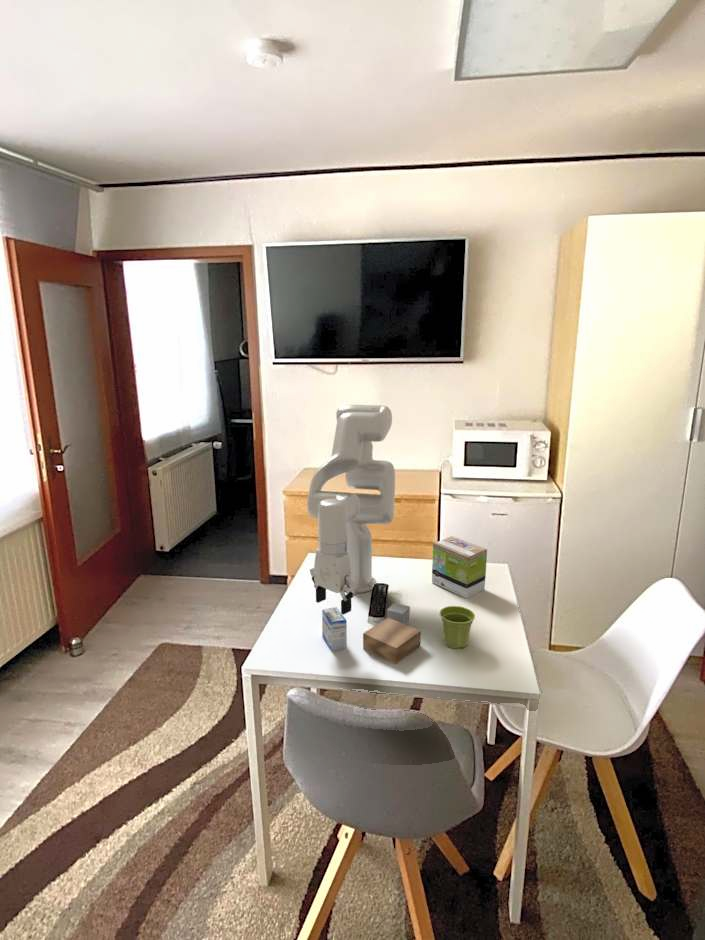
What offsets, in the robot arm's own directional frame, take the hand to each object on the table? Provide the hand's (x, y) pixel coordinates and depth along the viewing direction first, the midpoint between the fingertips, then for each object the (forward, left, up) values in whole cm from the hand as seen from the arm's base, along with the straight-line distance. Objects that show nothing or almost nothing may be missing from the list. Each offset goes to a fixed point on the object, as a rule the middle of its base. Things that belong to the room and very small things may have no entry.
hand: (333, 606), depth 154 cm
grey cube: (+6, +21, -11) cm, 24 cm away
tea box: (+5, +53, -12) cm, 54 cm away
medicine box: (0, +1, -12) cm, 11 cm away
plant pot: (+24, +24, -11) cm, 35 cm away
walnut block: (+13, +10, -12) cm, 20 cm away
